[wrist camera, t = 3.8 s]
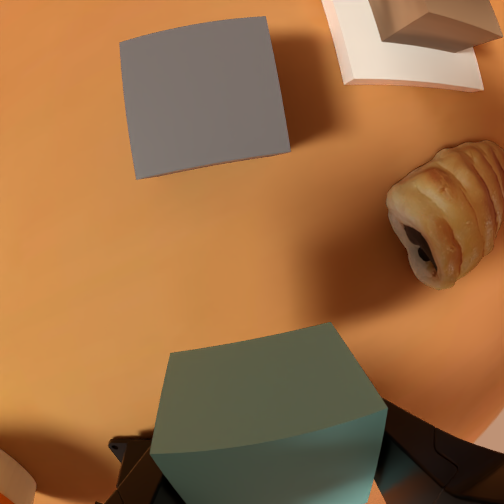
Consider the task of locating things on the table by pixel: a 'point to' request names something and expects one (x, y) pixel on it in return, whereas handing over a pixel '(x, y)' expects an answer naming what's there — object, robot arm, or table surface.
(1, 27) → the table surface
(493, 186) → the pastry
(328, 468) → the teal brick
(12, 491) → the reusable coffee cup
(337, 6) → the base plate
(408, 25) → the walnut brick
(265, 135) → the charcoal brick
